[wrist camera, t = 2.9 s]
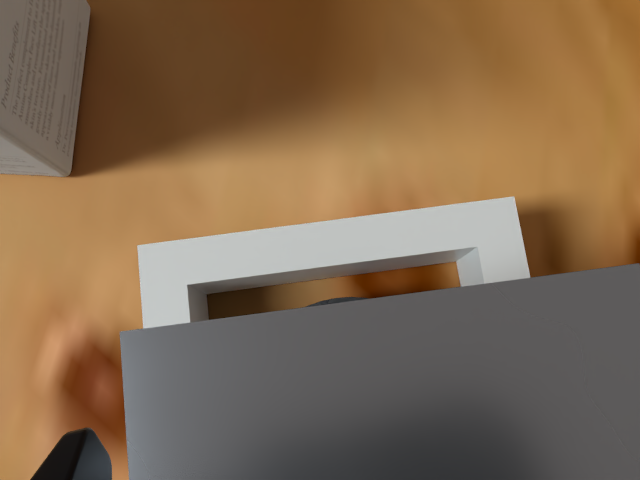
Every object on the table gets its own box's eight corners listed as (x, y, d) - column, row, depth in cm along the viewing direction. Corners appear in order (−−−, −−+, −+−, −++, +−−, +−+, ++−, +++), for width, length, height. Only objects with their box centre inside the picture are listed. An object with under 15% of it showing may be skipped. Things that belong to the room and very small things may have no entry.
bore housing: (555, 570, 16) (597, 610, 13) (192, 620, 16) (167, 670, 13) (488, 217, 18) (514, 196, 15) (163, 260, 18) (137, 245, 15)
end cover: (470, 502, 16) (992, 1049, 4) (258, 532, 16) (5, 1204, 3) (434, 290, 17) (731, 125, 5) (235, 317, 17) (-16, 220, 5)
